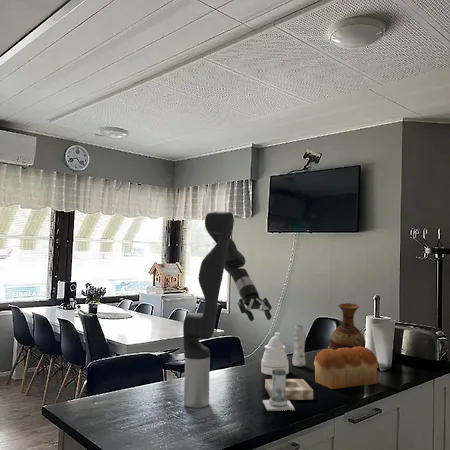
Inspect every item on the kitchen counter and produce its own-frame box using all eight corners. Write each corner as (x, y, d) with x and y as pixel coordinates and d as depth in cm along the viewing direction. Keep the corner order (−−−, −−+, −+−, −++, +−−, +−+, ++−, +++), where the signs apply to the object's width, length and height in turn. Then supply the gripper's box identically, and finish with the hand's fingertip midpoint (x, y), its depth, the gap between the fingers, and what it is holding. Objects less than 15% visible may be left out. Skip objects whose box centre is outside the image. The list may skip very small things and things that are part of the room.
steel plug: (270, 406, 166) (271, 373, 167) (268, 400, 173) (268, 368, 173) (288, 407, 166) (289, 373, 167) (285, 401, 173) (286, 368, 173)
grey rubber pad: (267, 410, 164) (267, 409, 164) (262, 401, 174) (262, 400, 174) (294, 410, 165) (294, 408, 165) (288, 401, 175) (288, 399, 175)
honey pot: (270, 367, 228) (270, 330, 229) (293, 371, 220) (293, 333, 221) (256, 372, 217) (256, 333, 218) (280, 376, 210) (280, 336, 211)
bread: (331, 389, 191) (331, 353, 192) (313, 382, 203) (313, 347, 203) (378, 383, 201) (378, 349, 202) (359, 376, 213) (358, 344, 213)
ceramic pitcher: (329, 362, 239) (329, 304, 240) (327, 354, 258) (327, 300, 260) (368, 364, 235) (368, 305, 237) (363, 356, 255) (363, 301, 257)
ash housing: (272, 399, 176) (272, 390, 176) (265, 387, 192) (265, 379, 192) (313, 399, 177) (313, 390, 178) (302, 387, 193) (302, 379, 193)
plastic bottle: (296, 364, 234) (296, 324, 235) (308, 366, 230) (308, 325, 231) (289, 366, 229) (289, 325, 230) (301, 368, 225) (301, 327, 226)
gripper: (236, 284, 195) (250, 314, 185) (263, 283, 202) (279, 312, 192) (229, 295, 200) (243, 326, 189) (257, 294, 207) (271, 324, 196)
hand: (261, 319), depth 190 cm, fingers open, 8 cm apart
